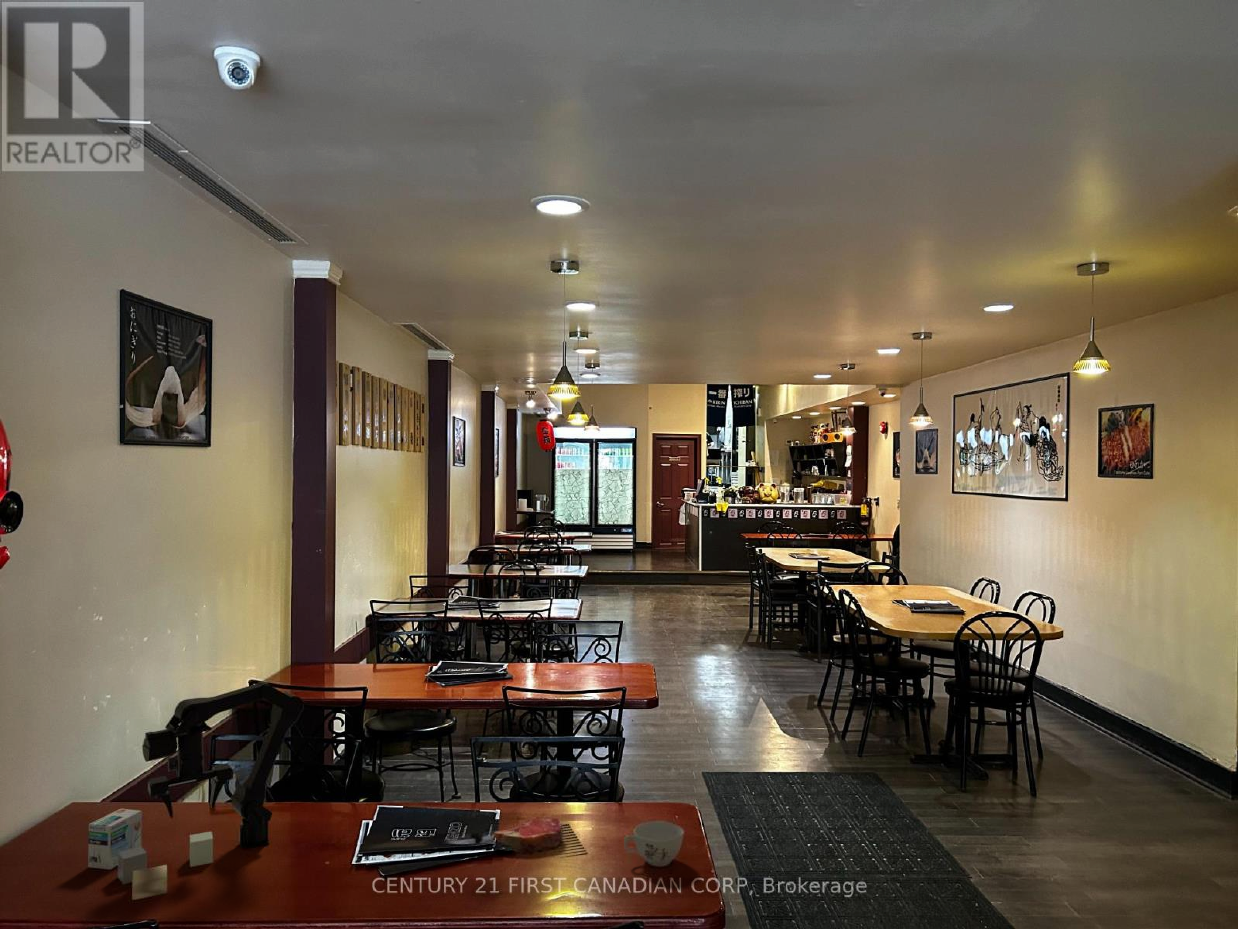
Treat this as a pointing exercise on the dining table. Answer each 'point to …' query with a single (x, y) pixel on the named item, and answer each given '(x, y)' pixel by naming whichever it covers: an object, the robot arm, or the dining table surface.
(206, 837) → the sage block
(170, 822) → the dining table surface
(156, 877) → the maple base
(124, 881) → the grey block
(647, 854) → the teacup
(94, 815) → the dining table surface
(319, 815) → the dining table surface
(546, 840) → the steak
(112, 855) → the light bulb box
